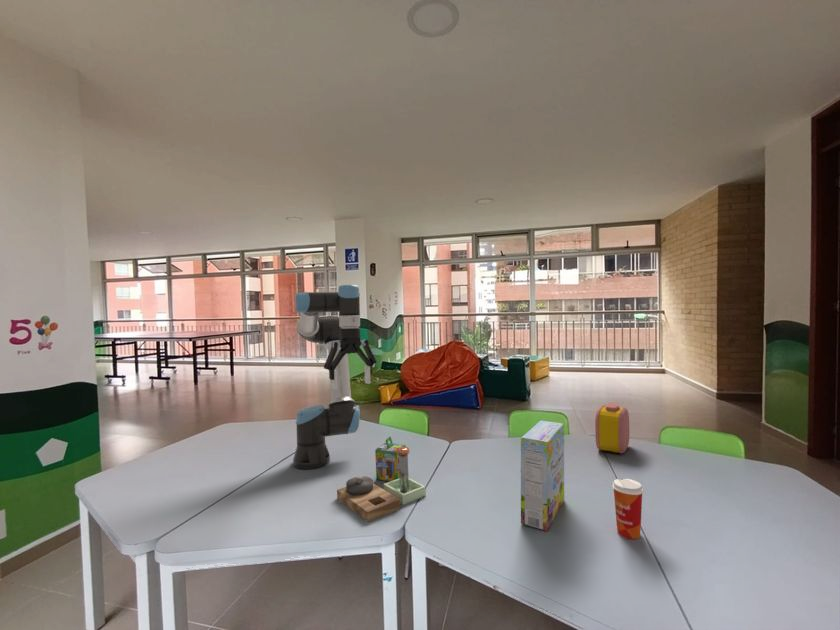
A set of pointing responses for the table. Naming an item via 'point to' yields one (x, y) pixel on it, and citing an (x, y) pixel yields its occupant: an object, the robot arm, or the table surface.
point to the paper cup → (628, 507)
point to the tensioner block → (367, 498)
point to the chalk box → (387, 461)
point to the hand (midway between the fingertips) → (351, 386)
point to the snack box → (542, 474)
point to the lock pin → (403, 469)
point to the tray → (414, 492)
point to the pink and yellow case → (612, 428)
